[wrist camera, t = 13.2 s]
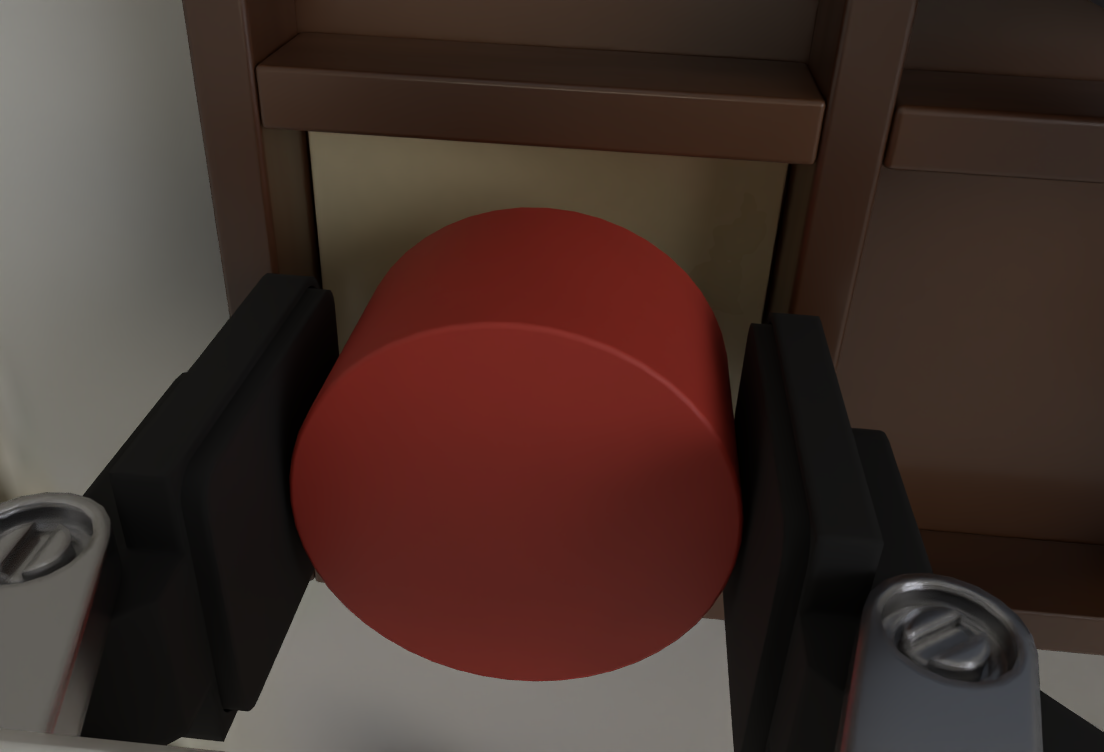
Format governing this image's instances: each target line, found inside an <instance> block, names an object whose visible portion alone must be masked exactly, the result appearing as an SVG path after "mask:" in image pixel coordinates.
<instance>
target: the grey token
mask: <svg viewBox="0 0 1104 752" xmlns="http://www.w3.org/2000/svg"><path fill="white" fill-rule="evenodd" d="M1089 1H1091V2H1093V3H1095V4H1097V5H1099V6H1100V7H1102V8H1104V0H1089Z"/></svg>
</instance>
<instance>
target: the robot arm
mask: <svg viewBox="0 0 1104 752" xmlns="http://www.w3.org/2000/svg"><path fill="white" fill-rule="evenodd" d="M338 357H339V346H338V335H337V323H336V312H335V302H334V296H333V293H332V292H331V290H327V289H320V288H319V284H318V282H317V280H316V278H315V277H312V276H299V275H286V274H273V273H266V274H265V275H264V276H263V277H262V278H261V279H260V280H259V282H258V283H257V284H256V286H255V287H254V288H253V289H252V291H251V292H250V293H249V294H248V296H247V297H246V298H245V299H244V301H243V302H242V303H241V305H240V306H239V307H238V308H237V310H236V311H235V312H234V313H233V315H232V316H231V317H230V319H229V320H228V321H227V322H226V324H225V325H224V326H223V327H222V329H221V330H220V331H219V332H218V334H217V335H216V336H215V338H214V339H213V340H212V341H211V343H210V344H209V345H208V346H207V348H206V349H205V350H204V352H203V353H202V354H201V355H200V357H199V358H198V359H197V360H196V362H195V363H194V364H193V365H192V367H191V368H190V369H189V371H188V372H185V373H182V374H181V375H180V376H179V377H178V378H177V379H175V381H174V382H173V383H172V384H171V386H170V387H169V388H168V389H167V391H166V392H165V393H164V394H163V396H162V397H161V398H160V399H159V401H158V402H157V403H156V404H155V406H154V407H153V408H152V409H151V411H150V412H149V413H148V414H147V416H146V417H145V418H144V419H143V421H142V422H141V423H140V425H139V426H138V427H137V428H136V430H135V431H134V432H133V433H132V435H131V436H130V437H129V438H128V440H127V441H126V442H125V443H124V445H123V446H122V447H121V448H120V450H119V451H118V452H117V453H116V455H115V456H114V457H113V458H112V460H111V461H110V462H109V463H108V465H107V466H106V467H105V468H104V470H103V471H102V472H101V473H100V475H99V476H98V477H97V478H96V480H95V481H94V482H93V483H92V485H91V486H90V487H89V488H88V490H87V491H86V492H85V493H84V495H83V496H80V495H76V494H72V493H48V492H46V493H40V494H34V495H28V496H21V497H18V498H15V499H12V500H9V501H6V502H3V503H0V752H223V751H213V750H203V749H194V748H184V747H174V746H167V744H169V743H171V742H173V741H175V740H177V739H179V738H181V737H186V738H195V739H204V740H213V741H223V742H224V740H225V738H226V735H227V733H228V731H229V729H230V726H231V724H232V722H233V720H234V718H235V715H236V713H237V711H238V710H241V711H250V710H251V709H252V708H253V707H254V706H255V704H256V702H257V700H258V698H259V696H260V693H261V691H262V689H263V686H264V684H265V682H266V680H267V677H268V675H269V673H270V670H271V668H272V666H273V664H274V661H275V659H276V657H277V654H278V652H279V650H280V647H281V645H282V643H283V641H284V638H285V636H286V634H287V631H288V629H289V627H290V624H291V622H292V620H293V618H294V615H295V613H296V611H297V608H298V606H299V604H300V602H301V599H302V597H303V595H304V592H305V590H306V588H307V585H308V583H309V581H310V579H311V576H312V574H313V572H314V569H315V568H314V566H313V565H312V563H311V561H310V559H309V557H308V555H307V553H306V552H305V550H304V548H303V545H302V542H301V540H300V537H299V534H298V532H297V529H296V526H295V522H294V517H293V512H292V508H291V502H290V485H289V474H290V466H291V457H292V452H293V449H294V445H295V442H296V439H297V435H298V432H299V430H300V428H301V426H302V424H303V422H304V420H305V418H306V416H307V414H308V412H309V410H310V408H311V406H312V404H313V402H314V401H315V399H316V397H317V395H318V393H319V392H320V390H321V388H322V386H323V384H324V382H325V381H326V379H327V377H328V375H329V373H330V372H331V370H332V368H333V366H334V364H335V363H336V361H337V359H338ZM734 424H735V433H736V443H737V452H738V461H739V471H740V480H741V489H742V500H743V513H744V523H743V533H742V543H741V546H740V550H739V554H738V558H737V561H736V565H735V567H734V569H733V571H732V573H731V576H730V578H729V580H728V582H727V584H726V586H725V588H724V590H723V603H724V617H725V631H726V645H727V659H728V674H729V688H730V702H731V716H732V730H733V744H734V752H1104V732H1102V731H1101V730H1099V729H1098V728H1096V727H1095V726H1093V725H1092V724H1090V723H1089V722H1087V721H1086V720H1084V719H1083V718H1081V717H1080V716H1078V715H1077V714H1075V713H1074V712H1072V711H1071V710H1069V709H1068V708H1066V707H1065V706H1063V705H1062V704H1060V703H1059V702H1057V701H1056V700H1054V699H1053V698H1051V697H1050V696H1048V695H1047V694H1045V693H1044V692H1042V691H1040V683H1039V664H1038V653H1037V650H1036V646H1035V642H1034V639H1033V636H1032V634H1031V633H1030V631H1029V630H1028V628H1027V627H1026V625H1025V624H1024V622H1023V621H1022V620H1021V618H1020V617H1019V616H1018V615H1017V614H1016V613H1015V612H1014V611H1012V610H1011V609H1010V608H1009V607H1008V606H1007V605H1006V604H1005V603H1003V602H1002V601H1001V600H1000V599H998V598H996V597H995V596H993V595H991V594H990V593H988V592H986V591H984V590H983V589H981V588H979V587H977V586H975V585H972V584H970V583H967V582H964V581H961V580H958V579H956V578H953V577H949V576H943V575H937V574H933V571H932V568H931V565H930V562H929V559H928V556H927V553H926V550H925V547H924V544H923V541H922V538H921V535H920V532H919V529H918V526H917V523H916V520H915V517H914V514H913V511H912V508H911V505H910V502H909V499H908V496H907V493H906V490H905V487H904V484H903V481H902V478H901V475H900V472H899V469H898V466H897V463H896V460H895V457H894V454H893V451H892V448H891V445H890V442H889V439H888V437H887V436H886V434H885V432H883V431H881V430H873V429H861V428H851V425H850V421H849V418H848V414H847V411H846V407H845V404H844V400H843V397H842V393H841V390H840V386H839V383H838V379H837V376H836V372H835V368H834V365H833V361H832V358H831V354H830V351H829V347H828V344H827V340H826V337H825V333H824V330H823V326H822V323H821V319H820V317H819V316H811V315H799V314H786V313H773V312H770V314H769V316H768V319H767V322H766V324H758V323H751V324H750V327H749V331H748V336H747V342H746V348H745V354H744V361H743V367H742V373H741V379H740V385H739V391H738V397H737V404H736V410H735V416H734Z"/></svg>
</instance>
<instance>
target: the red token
mask: <svg viewBox="0 0 1104 752" xmlns="http://www.w3.org/2000/svg"><path fill="white" fill-rule="evenodd" d="M289 485H290V502H291V508H292V512H293V517H294V522H295V526H296V529H297V532H298V534H299V537H300V540H301V542H302V545H303V548H304V550H305V552H306V553H307V555H308V557H309V559H310V561H311V563H312V565H313V566H314V568H315V570H316V571H317V573H318V574H319V575H320V577H321V578H322V580H323V581H324V582H325V584H326V585H327V586H328V588H329V589H330V590H331V591H332V592H333V593H334V595H335V596H336V597H337V598H338V599H339V600H340V601H341V602H342V603H343V604H344V605H345V606H346V607H347V608H348V609H349V610H350V611H351V612H352V613H354V614H355V615H356V616H357V617H358V618H359V619H360V620H362V621H363V622H364V623H365V624H366V625H368V626H369V627H371V628H372V629H374V630H375V631H376V632H378V633H379V634H381V635H382V636H384V637H385V638H387V639H388V640H390V641H392V642H394V643H396V644H397V645H399V646H401V647H403V648H404V649H406V650H408V651H410V652H412V653H415V654H417V655H419V656H421V657H424V658H426V659H428V660H430V661H433V662H436V663H439V664H442V665H445V666H448V667H450V668H453V669H456V670H460V671H464V672H469V673H473V674H477V675H481V676H487V677H494V678H500V679H507V680H522V681H557V680H568V679H575V678H583V677H589V676H593V675H597V674H602V673H606V672H610V671H614V670H617V669H619V668H622V667H625V666H628V665H631V664H634V663H636V662H638V661H641V660H643V659H645V658H647V657H649V656H651V655H653V654H655V653H657V652H659V651H660V650H662V649H664V648H665V647H667V646H668V645H670V644H672V643H673V642H675V641H676V640H678V639H679V638H680V637H681V636H683V635H684V634H685V633H686V632H687V631H689V630H690V629H691V628H692V627H693V626H695V625H696V624H697V623H698V622H699V621H700V620H701V618H702V617H703V616H704V615H705V614H706V613H707V612H708V611H709V610H710V609H711V607H712V606H713V605H714V603H715V602H716V600H717V599H718V597H719V596H720V594H721V593H722V591H723V590H724V588H725V586H726V584H727V582H728V580H729V578H730V576H731V573H732V571H733V569H734V567H735V565H736V561H737V558H738V554H739V550H740V546H741V543H742V533H743V523H744V513H743V500H742V489H741V480H740V471H739V461H738V452H737V443H736V433H735V424H734V414H733V405H732V396H731V386H730V377H729V368H728V358H727V352H726V348H725V344H724V340H723V335H722V332H721V330H720V327H719V325H718V322H717V320H716V317H715V315H714V312H713V311H712V309H711V307H710V306H709V304H708V302H707V301H706V299H705V297H704V295H703V294H702V292H701V291H700V290H699V288H698V287H697V286H696V284H695V283H694V282H693V281H692V279H691V278H690V277H689V276H688V274H687V273H686V272H685V271H684V270H683V269H682V268H681V267H680V266H678V265H677V264H676V263H675V262H674V261H673V260H672V259H671V258H670V257H669V256H668V255H667V254H665V253H664V252H662V251H661V250H660V249H658V248H657V247H656V246H654V245H653V244H652V243H650V242H649V241H647V240H646V239H644V238H642V237H640V236H638V235H636V234H635V233H633V232H631V231H629V230H627V229H626V228H623V227H621V226H618V225H616V224H613V223H611V222H608V221H606V220H603V219H601V218H598V217H594V216H590V215H586V214H582V213H579V212H575V211H568V210H561V209H553V208H529V207H520V208H511V209H502V210H494V211H490V212H486V213H482V214H478V215H474V216H470V217H467V218H465V219H462V220H460V221H457V222H454V223H452V224H449V225H447V226H445V227H443V228H441V229H440V230H438V231H436V232H434V233H432V234H431V235H429V236H427V237H425V238H424V239H423V240H421V241H420V242H419V243H417V244H416V245H415V246H413V247H412V248H411V249H410V250H408V251H407V252H406V253H405V254H404V255H403V256H402V257H401V258H400V259H399V260H398V261H397V262H396V263H395V264H394V265H393V266H392V267H391V268H390V270H389V271H388V272H387V274H386V275H385V277H384V278H383V279H382V281H381V282H380V284H379V285H378V286H377V288H376V290H375V292H374V294H373V296H372V297H371V299H370V301H369V303H368V305H367V306H366V308H365V310H364V312H363V314H362V315H361V317H360V319H359V321H358V323H357V325H356V326H355V328H354V330H353V332H352V334H351V335H350V337H349V339H348V341H347V343H346V344H345V346H344V348H343V350H342V352H341V353H340V355H339V357H338V359H337V361H336V363H335V364H334V366H333V368H332V370H331V372H330V373H329V375H328V377H327V379H326V381H325V382H324V384H323V386H322V388H321V390H320V392H319V393H318V395H317V397H316V399H315V401H314V402H313V404H312V406H311V408H310V410H309V412H308V414H307V416H306V418H305V420H304V422H303V424H302V426H301V428H300V430H299V432H298V435H297V439H296V442H295V445H294V449H293V452H292V457H291V466H290V474H289Z"/></svg>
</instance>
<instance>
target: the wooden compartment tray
mask: <svg viewBox="0 0 1104 752" xmlns="http://www.w3.org/2000/svg"><path fill="white" fill-rule="evenodd" d="M182 3H183V10H184V16H185V23H186V29H187V36H188V43H189V49H190V56H191V63H192V69H193V76H194V82H195V89H196V96H197V102H198V109H199V115H200V122H201V129H202V135H203V142H204V149H205V155H206V162H207V168H208V175H209V182H210V188H211V195H212V202H213V208H214V215H215V221H216V228H217V235H218V241H219V248H220V254H221V261H222V268H223V274H224V281H225V288H226V294H227V301H228V307H229V314H230V317H231V316H232V315H233V313H234V312H235V311H236V310H237V308H238V307H239V306H240V305H241V303H242V302H243V301H244V299H245V298H246V297H247V296H248V294H249V293H250V292H251V291H252V289H253V288H254V287H255V286H256V284H257V283H258V282H259V280H260V279H261V278H262V277H263V276H264V275H265V274H266V273H273V274H286V275H299V276H312V277H315V278H316V280H317V282H318V284H319V288H320V289H327V290H331V292H332V293H333V296H334V302H335V312H336V323H337V335H338V346H339V355H340V353H341V352H342V350H343V348H344V346H345V344H346V343H347V341H348V339H349V337H350V335H351V334H352V332H353V330H354V328H355V326H356V325H357V323H358V321H359V319H360V317H361V315H362V314H363V312H364V310H365V308H366V306H367V305H368V303H369V301H370V299H371V297H372V296H373V294H374V292H375V290H376V288H377V286H378V285H379V284H380V282H381V281H382V279H383V278H384V277H385V275H386V274H387V272H388V271H389V270H390V268H391V267H392V266H393V265H394V264H395V263H396V262H397V261H398V260H399V259H400V258H401V257H402V256H403V255H404V254H405V253H406V252H407V251H408V250H410V249H411V248H412V247H413V246H415V245H416V244H417V243H419V242H420V241H421V240H423V239H424V238H425V237H427V236H429V235H431V234H432V233H434V232H436V231H438V230H440V229H441V228H443V227H445V226H447V225H449V224H452V223H454V222H457V221H460V220H462V219H465V218H467V217H470V216H474V215H478V214H482V213H486V212H490V211H494V210H502V209H511V208H520V207H529V208H553V209H561V210H568V211H575V212H579V213H582V214H586V215H590V216H594V217H598V218H601V219H603V220H606V221H608V222H611V223H613V224H616V225H618V226H621V227H623V228H626V229H627V230H629V231H631V232H633V233H635V234H636V235H638V236H640V237H642V238H644V239H646V240H647V241H649V242H650V243H652V244H653V245H654V246H656V247H657V248H658V249H660V250H661V251H662V252H664V253H665V254H667V255H668V256H669V257H670V258H671V259H672V260H673V261H674V262H675V263H676V264H677V265H678V266H680V267H681V268H682V269H683V270H684V271H685V272H686V273H687V274H688V276H689V277H690V278H691V279H692V281H693V282H694V283H695V284H696V286H697V287H698V288H699V290H700V291H701V292H702V294H703V295H704V297H705V299H706V301H707V302H708V304H709V306H710V307H711V309H712V311H713V312H714V315H715V317H716V320H717V322H718V325H719V327H720V330H721V332H722V335H723V340H724V344H725V348H726V352H727V358H728V368H729V377H730V386H731V396H732V405H733V414H734V416H735V410H736V404H737V397H738V391H739V385H740V379H741V373H742V367H743V361H744V354H745V348H746V342H747V336H748V331H749V327H750V324H751V323H758V324H766V322H767V319H768V316H769V314H770V312H773V313H786V314H799V315H811V316H819V317H820V319H821V323H822V326H823V330H824V333H825V337H826V340H827V344H828V347H829V351H830V354H831V358H832V361H833V365H834V368H835V372H836V376H837V379H838V383H839V386H840V390H841V393H842V397H843V400H844V404H845V407H846V411H847V414H848V418H849V421H850V425H851V428H861V429H873V430H881V431H883V432H885V434H886V436H887V437H888V439H889V442H890V445H891V448H892V451H893V454H894V457H895V460H896V463H897V466H898V469H899V472H900V475H901V478H902V481H903V484H904V487H905V490H906V493H907V496H908V499H909V502H910V505H911V508H912V511H913V514H914V517H915V520H916V523H917V526H918V529H919V532H920V535H921V538H922V541H923V544H924V547H925V550H926V553H927V556H928V559H929V562H930V565H931V568H932V571H933V574H937V575H943V576H949V577H953V578H956V579H958V580H961V581H964V582H967V583H970V584H972V585H975V586H977V587H979V588H981V589H983V590H984V591H986V592H988V593H990V594H991V595H993V596H995V597H996V598H998V599H1000V600H1001V601H1002V602H1003V603H1005V604H1006V605H1007V606H1008V607H1009V608H1010V609H1011V610H1012V611H1014V612H1015V613H1016V614H1017V615H1018V616H1019V617H1020V618H1021V620H1022V621H1023V622H1024V624H1025V625H1026V627H1027V628H1028V630H1029V631H1030V633H1031V634H1032V636H1033V639H1034V642H1035V646H1036V649H1041V650H1051V651H1062V652H1073V653H1083V654H1094V655H1104V8H1102V7H1100V6H1099V5H1097V4H1095V3H1093V2H1091V1H1089V0H182ZM314 578H316V581H317V582H323V583H325V582H324V581H323V580H322V578H321V577H320V575H319V574H318V573H317V571H316V570H315V569H314V572H313V574H312V576H311V579H310V580H313V579H314ZM702 618H709V619H720V620H725V617H724V603H723V591H722V593H721V594H720V596H719V597H718V599H717V600H716V602H715V603H714V605H713V606H712V607H711V609H710V610H709V611H708V612H707V613H706V614H705V615H704V616H703V617H702Z"/></svg>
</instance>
